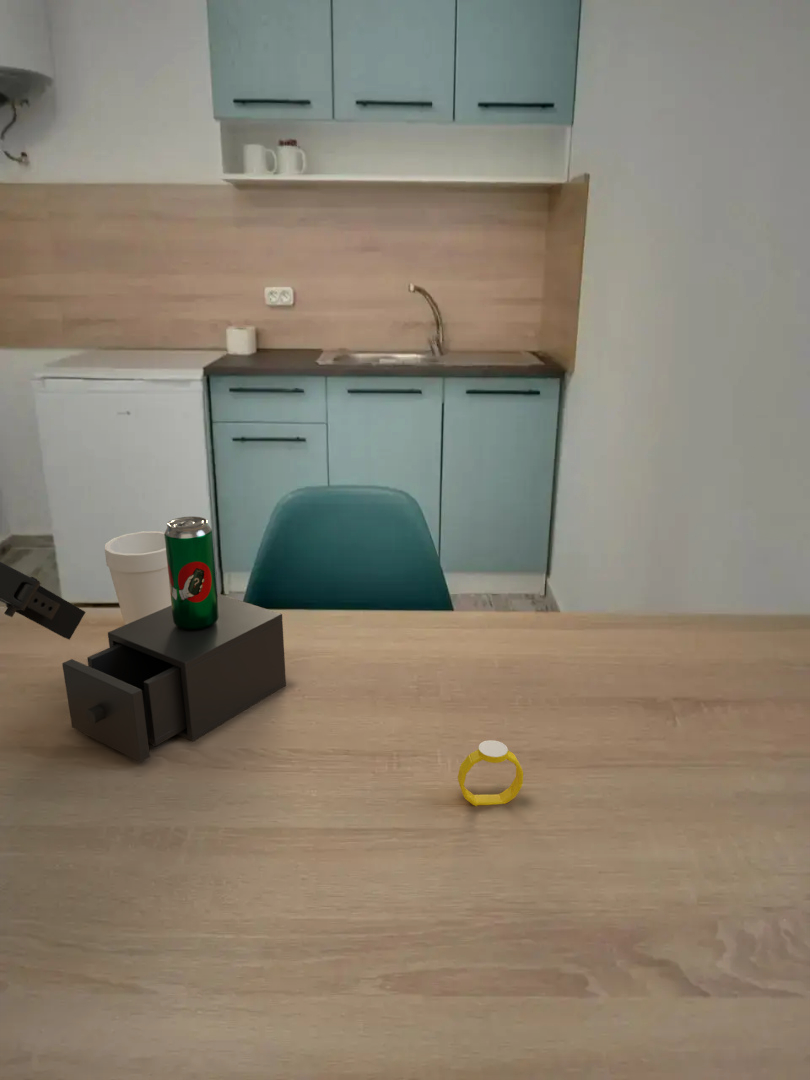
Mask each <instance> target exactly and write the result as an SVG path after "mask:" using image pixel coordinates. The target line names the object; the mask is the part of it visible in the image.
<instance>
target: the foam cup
mask: <svg viewBox="0 0 810 1080" xmlns="http://www.w3.org/2000/svg"><path fill="white" fill-rule="evenodd" d="M164 533H165V531H159V530H153V531H149V530H148V531H138V532H137V531H136V532H131V533H125V534H122V535H119V536H116V537H113V538H112V539H110V540H108V541H107V542H106V543H104V554H105V562H106V566H107V567H108V569H109V572H110V577H111V580H112V582H113V587H114V591H115V595H116V599H117V600H118V606H119V609H120V612H121V616H122V620H123V623H124V625H126V624H129V623H131V622H133V621H136V620H138V619H140V618H143V617H145V616H148V615H150V614H152V613H155V612H157V611H159V610H162V609H164V608H166V607H169V606H171V595H170V586H169V576H168V566H167V556H166V546H165V537H164Z"/></svg>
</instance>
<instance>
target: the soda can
mask: <svg viewBox="0 0 810 1080" xmlns="http://www.w3.org/2000/svg"><path fill="white" fill-rule="evenodd" d="M164 532H165V533H164V537H165V546H166V556H167V566H168V576H169V586H170V595H171V605H172V615H173V622H174V624H176V625H177V626H178V627H179V628H181V629H183V630H189V631H196V630H202V629H206V628H209V627H211V626H212V625H214V624H215V622H216V621H217V620H218V618H219V608H218V596H217V593H218V584H217V573H216V572H217V571H216V561H215V549H214V547H215V546H214V538H213V537H214V535H213V529H212V527H211V526H210V525H209V521H208V519H207V518H205V517H201V516H181V517H177V518H174V519H171V520H169V521H167V523H166V529H165V530H164Z"/></svg>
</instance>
